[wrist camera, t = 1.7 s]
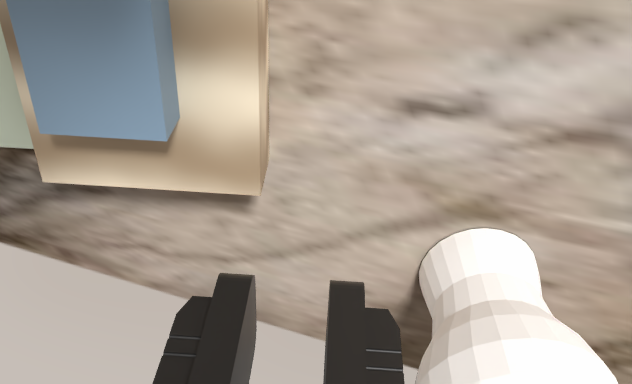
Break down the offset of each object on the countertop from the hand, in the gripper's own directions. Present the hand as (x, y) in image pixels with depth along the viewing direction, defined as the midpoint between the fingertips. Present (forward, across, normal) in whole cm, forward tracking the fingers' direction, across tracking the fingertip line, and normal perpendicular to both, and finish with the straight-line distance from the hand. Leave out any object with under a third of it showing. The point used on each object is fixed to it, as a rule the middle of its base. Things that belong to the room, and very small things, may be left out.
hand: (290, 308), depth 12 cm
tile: (+16, +10, 0) cm, 19 cm away
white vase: (+21, -11, +17) cm, 29 cm away
